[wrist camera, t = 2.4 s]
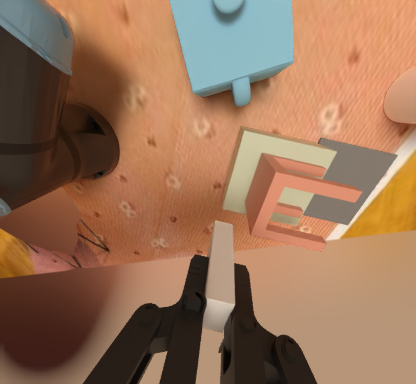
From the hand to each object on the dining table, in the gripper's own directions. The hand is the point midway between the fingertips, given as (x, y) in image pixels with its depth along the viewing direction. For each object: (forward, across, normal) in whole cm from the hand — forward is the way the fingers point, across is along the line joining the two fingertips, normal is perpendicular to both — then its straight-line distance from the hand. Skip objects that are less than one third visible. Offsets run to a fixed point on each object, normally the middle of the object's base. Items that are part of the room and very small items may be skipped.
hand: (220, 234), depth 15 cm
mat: (+23, +23, 0) cm, 32 cm away
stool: (+16, +9, 0) cm, 18 cm away
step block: (+23, +8, 0) cm, 24 cm away
